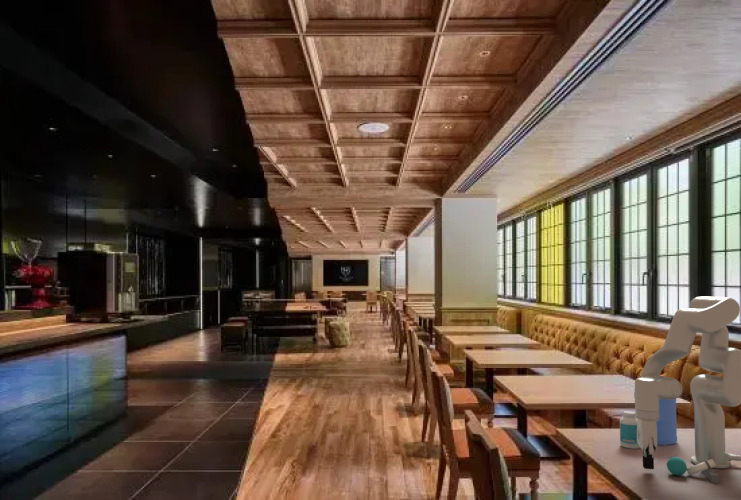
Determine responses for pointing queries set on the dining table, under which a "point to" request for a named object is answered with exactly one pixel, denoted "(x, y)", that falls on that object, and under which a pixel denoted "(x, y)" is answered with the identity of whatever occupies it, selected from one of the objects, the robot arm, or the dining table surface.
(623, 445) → the pill bottle
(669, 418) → the water jug
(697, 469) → the pin
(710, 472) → the grey block
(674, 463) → the ball
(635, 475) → the dining table surface
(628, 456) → the dining table surface
